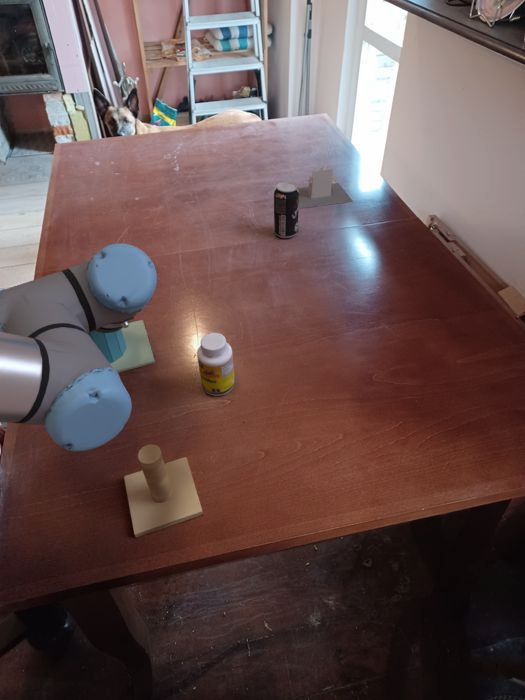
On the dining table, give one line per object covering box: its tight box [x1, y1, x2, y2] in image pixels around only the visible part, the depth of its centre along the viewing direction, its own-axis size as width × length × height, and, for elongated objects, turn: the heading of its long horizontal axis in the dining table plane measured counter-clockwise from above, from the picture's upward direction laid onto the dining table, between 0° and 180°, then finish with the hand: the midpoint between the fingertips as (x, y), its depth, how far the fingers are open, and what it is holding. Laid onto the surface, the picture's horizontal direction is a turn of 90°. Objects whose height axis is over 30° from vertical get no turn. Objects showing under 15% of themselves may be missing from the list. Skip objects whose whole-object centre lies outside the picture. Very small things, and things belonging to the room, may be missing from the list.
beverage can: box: [273, 181, 300, 239], centre depth 111 cm, size 6×6×12 cm
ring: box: [88, 329, 127, 363], centre depth 83 cm, size 8×8×8 cm
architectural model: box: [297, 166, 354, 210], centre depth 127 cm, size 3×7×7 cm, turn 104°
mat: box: [110, 319, 156, 374], centre depth 86 cm, size 16×12×1 cm
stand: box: [123, 443, 204, 538], centre depth 62 cm, size 9×9×10 cm
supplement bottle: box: [196, 332, 236, 397], centre depth 77 cm, size 6×6×10 cm
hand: (93, 328), depth 86 cm, fingers closed on ring, 8 cm apart
